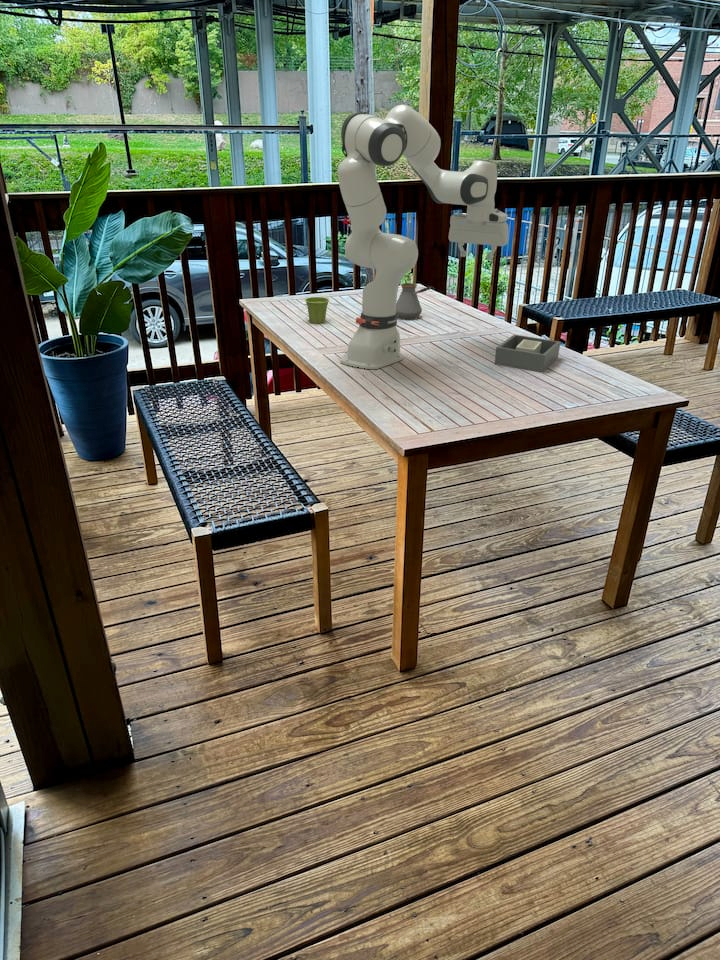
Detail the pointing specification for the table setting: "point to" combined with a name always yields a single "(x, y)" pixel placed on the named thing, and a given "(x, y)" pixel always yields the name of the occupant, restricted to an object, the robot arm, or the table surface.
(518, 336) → the big crate
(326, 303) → the plant pot
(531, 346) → the small crate
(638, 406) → the table surface
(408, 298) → the coffee pot
